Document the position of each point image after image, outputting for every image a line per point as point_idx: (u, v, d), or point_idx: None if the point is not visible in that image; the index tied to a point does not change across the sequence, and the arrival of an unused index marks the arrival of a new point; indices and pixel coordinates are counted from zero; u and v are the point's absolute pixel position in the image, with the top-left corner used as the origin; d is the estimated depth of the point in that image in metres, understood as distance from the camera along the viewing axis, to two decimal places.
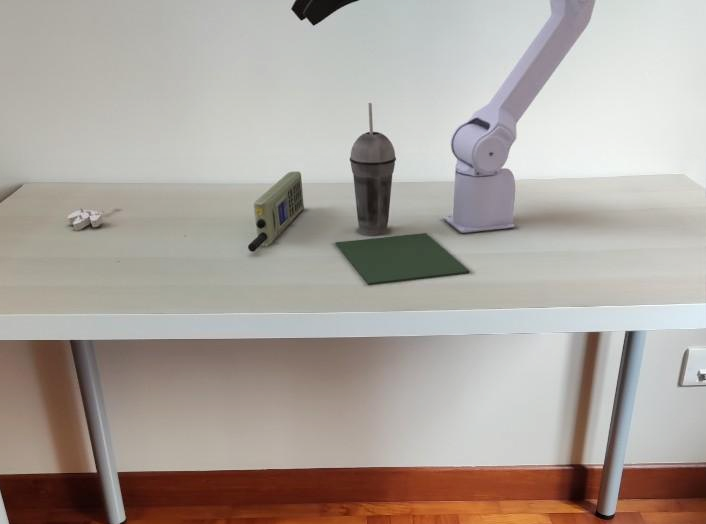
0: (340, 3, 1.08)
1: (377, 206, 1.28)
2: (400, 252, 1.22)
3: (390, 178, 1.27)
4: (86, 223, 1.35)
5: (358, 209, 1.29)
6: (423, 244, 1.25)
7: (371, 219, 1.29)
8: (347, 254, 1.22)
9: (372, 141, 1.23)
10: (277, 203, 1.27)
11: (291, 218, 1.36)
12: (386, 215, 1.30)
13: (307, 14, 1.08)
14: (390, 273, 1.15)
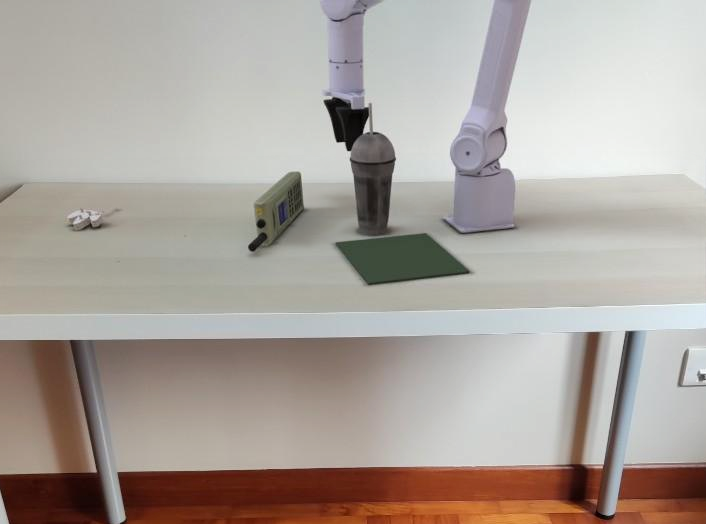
0: (362, 124, 1.34)
1: (377, 206, 1.28)
2: (400, 252, 1.22)
3: (390, 178, 1.27)
4: (86, 223, 1.35)
5: (358, 209, 1.29)
6: (423, 244, 1.25)
7: (371, 219, 1.29)
8: (347, 254, 1.22)
9: (372, 141, 1.23)
10: (277, 203, 1.27)
11: (291, 218, 1.36)
12: (386, 215, 1.30)
13: (350, 149, 1.36)
14: (390, 273, 1.15)
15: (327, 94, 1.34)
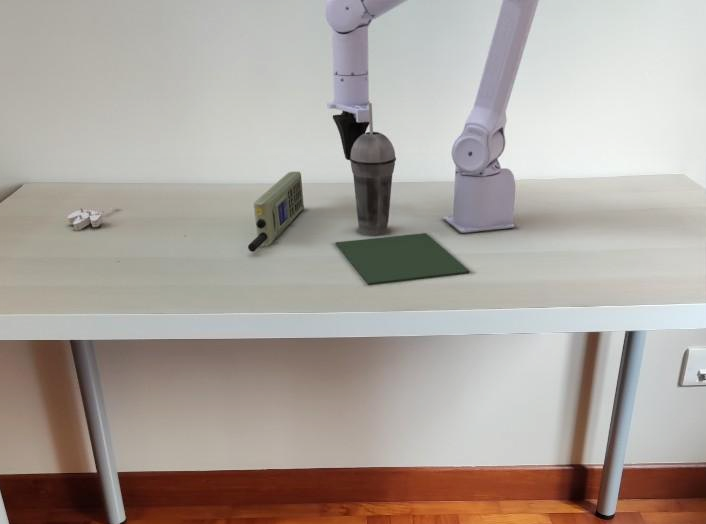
0: (362, 133, 1.35)
1: (377, 206, 1.28)
2: (400, 252, 1.22)
3: (390, 178, 1.27)
4: (86, 223, 1.35)
5: (358, 209, 1.29)
6: (423, 244, 1.25)
7: (371, 219, 1.29)
8: (347, 254, 1.22)
9: (372, 141, 1.23)
10: (277, 203, 1.27)
11: (291, 218, 1.36)
12: (386, 215, 1.30)
13: (349, 158, 1.37)
14: (390, 273, 1.15)
15: (332, 107, 1.32)
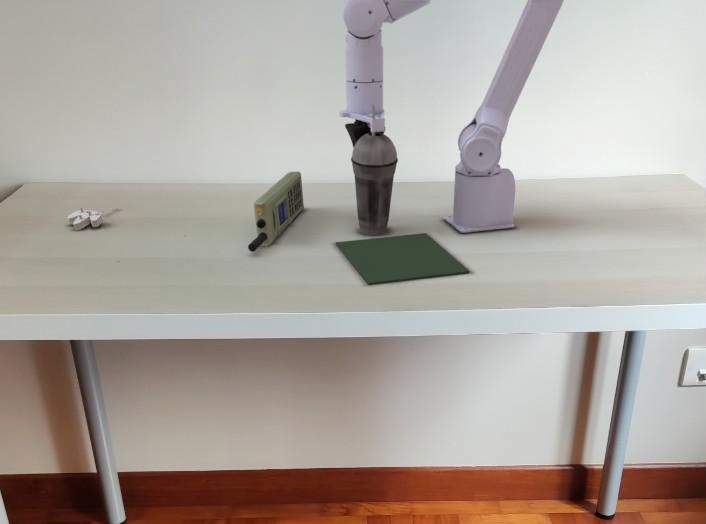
0: None
1: (378, 207, 1.27)
2: (400, 252, 1.22)
3: (391, 179, 1.26)
4: (86, 223, 1.35)
5: (359, 209, 1.29)
6: (423, 244, 1.25)
7: (372, 219, 1.29)
8: (347, 254, 1.22)
9: (374, 143, 1.22)
10: (277, 203, 1.27)
11: (291, 218, 1.36)
12: (386, 215, 1.29)
13: None
14: (390, 273, 1.15)
15: (344, 115, 1.25)
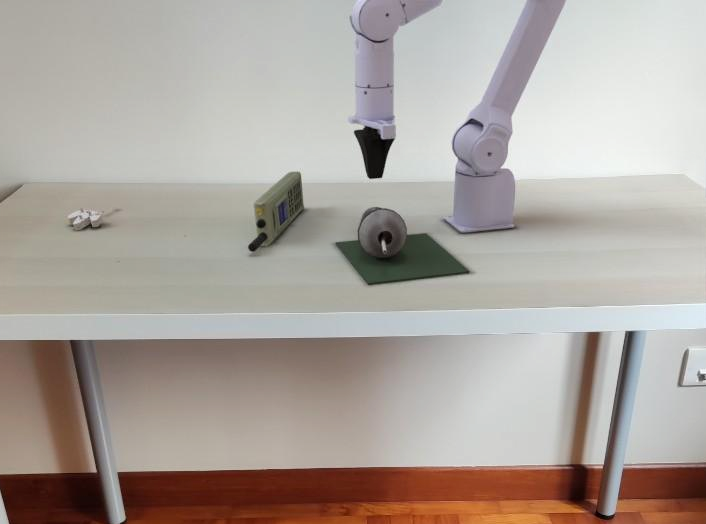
0: (386, 150, 1.24)
1: None
2: (400, 252, 1.22)
3: None
4: (86, 223, 1.35)
5: None
6: (423, 244, 1.25)
7: None
8: (347, 254, 1.22)
9: (382, 253, 1.17)
10: (277, 203, 1.27)
11: (291, 218, 1.36)
12: None
13: (372, 176, 1.26)
14: (390, 273, 1.15)
15: (353, 121, 1.21)
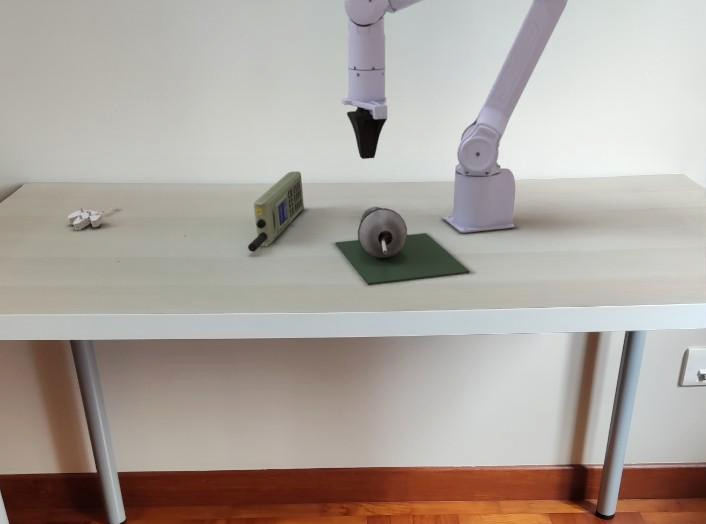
0: (378, 130, 1.29)
1: None
2: (400, 252, 1.22)
3: None
4: (86, 223, 1.35)
5: None
6: (423, 244, 1.25)
7: None
8: (347, 254, 1.22)
9: (382, 253, 1.17)
10: (277, 203, 1.27)
11: (291, 218, 1.36)
12: None
13: (365, 156, 1.31)
14: (390, 273, 1.15)
15: (347, 103, 1.26)
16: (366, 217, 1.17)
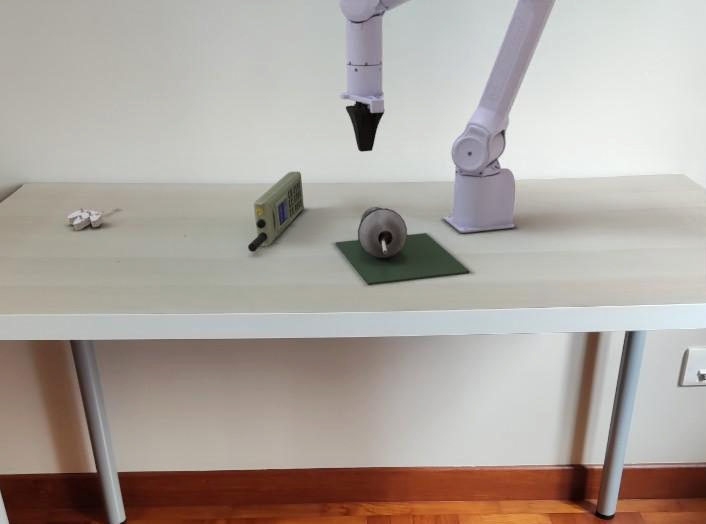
0: (375, 124, 1.33)
1: None
2: (400, 252, 1.22)
3: None
4: (86, 223, 1.35)
5: None
6: (423, 244, 1.25)
7: None
8: (347, 254, 1.22)
9: (382, 253, 1.17)
10: (277, 203, 1.27)
11: (291, 218, 1.36)
12: None
13: (363, 149, 1.36)
14: (390, 273, 1.15)
15: (345, 97, 1.31)
16: (366, 217, 1.17)
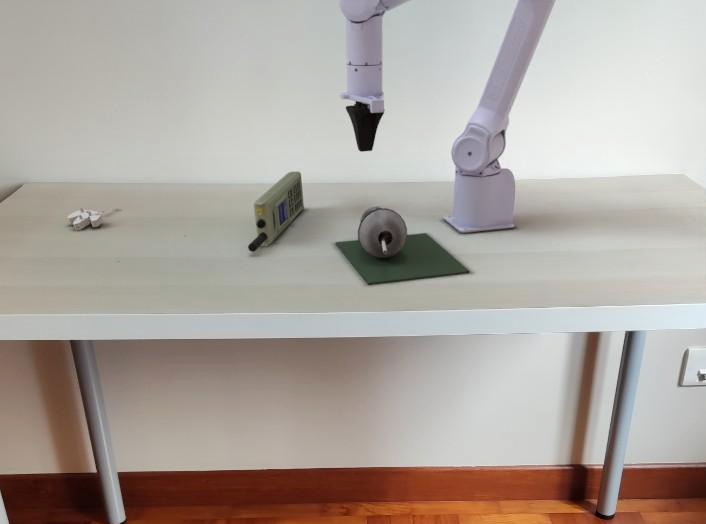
0: (375, 124, 1.33)
1: None
2: (400, 252, 1.22)
3: None
4: (86, 223, 1.35)
5: None
6: (423, 244, 1.25)
7: None
8: (347, 254, 1.22)
9: (382, 253, 1.17)
10: (277, 203, 1.27)
11: (291, 218, 1.36)
12: None
13: (363, 149, 1.36)
14: (390, 273, 1.15)
15: (345, 97, 1.31)
16: (366, 217, 1.17)
